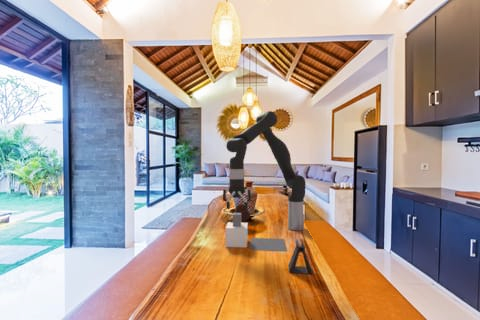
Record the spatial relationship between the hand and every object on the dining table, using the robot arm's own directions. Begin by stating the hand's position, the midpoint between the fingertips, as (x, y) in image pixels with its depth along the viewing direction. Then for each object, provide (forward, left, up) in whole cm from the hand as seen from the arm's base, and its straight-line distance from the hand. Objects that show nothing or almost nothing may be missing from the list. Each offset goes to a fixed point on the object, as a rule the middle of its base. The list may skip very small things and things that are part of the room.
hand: (237, 209), depth 138 cm
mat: (-16, 0, -18) cm, 24 cm away
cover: (0, 0, -18) cm, 18 cm away
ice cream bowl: (-1, -30, -18) cm, 35 cm away
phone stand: (-28, +28, -18) cm, 43 cm away
